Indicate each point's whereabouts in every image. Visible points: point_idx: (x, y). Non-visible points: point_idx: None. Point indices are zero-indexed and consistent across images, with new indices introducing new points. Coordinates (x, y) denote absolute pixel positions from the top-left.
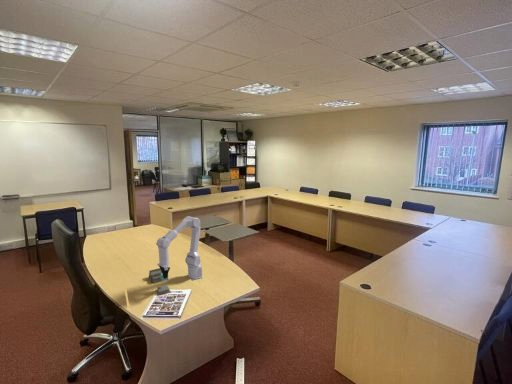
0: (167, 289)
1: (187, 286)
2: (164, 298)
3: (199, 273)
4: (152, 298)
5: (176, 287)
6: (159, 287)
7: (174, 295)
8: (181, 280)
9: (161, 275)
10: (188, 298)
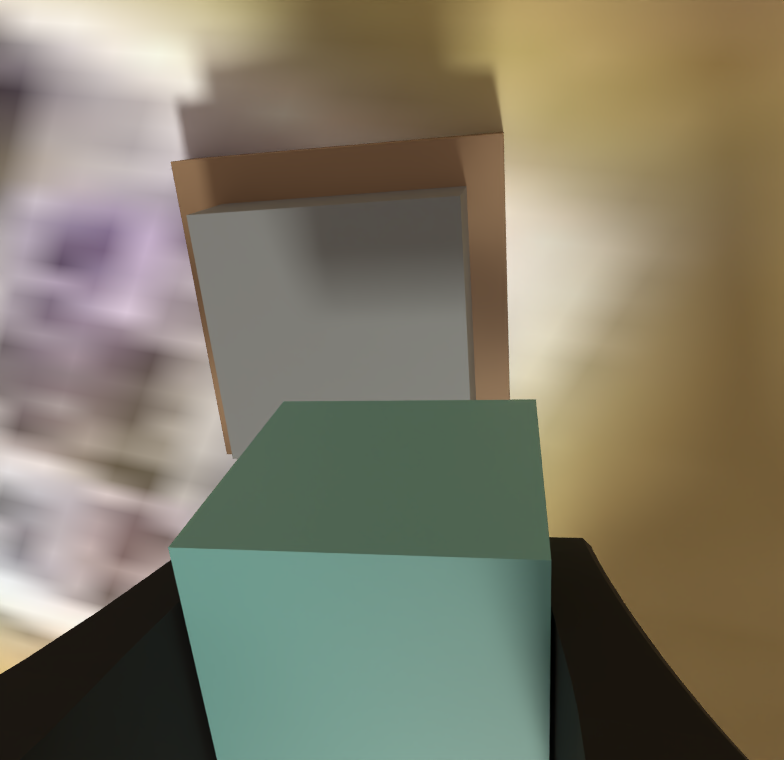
0: (227, 423)
1: None
2: (122, 289)
3: None
4: (200, 26)
5: None
6: (417, 255)
7: (180, 477)
8: (757, 727)
9: (194, 540)
10: (20, 630)
